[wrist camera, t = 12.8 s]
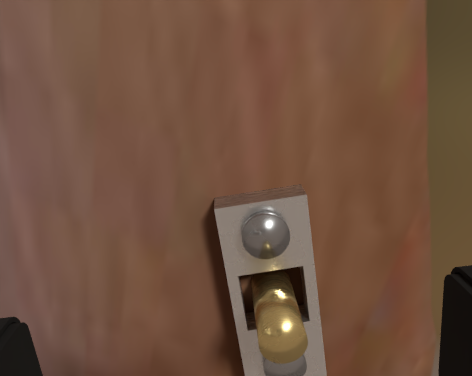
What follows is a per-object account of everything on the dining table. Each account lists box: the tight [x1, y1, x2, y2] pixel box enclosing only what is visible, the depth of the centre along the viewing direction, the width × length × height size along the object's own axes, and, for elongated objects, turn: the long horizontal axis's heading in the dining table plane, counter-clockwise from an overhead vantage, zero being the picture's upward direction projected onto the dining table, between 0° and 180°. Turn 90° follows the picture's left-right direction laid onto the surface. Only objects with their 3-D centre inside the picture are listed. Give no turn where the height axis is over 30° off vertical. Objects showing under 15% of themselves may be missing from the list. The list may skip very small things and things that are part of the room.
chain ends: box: [214, 184, 327, 376], centre depth 35 cm, size 17×7×4 cm, turn 9°
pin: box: [251, 269, 308, 364], centre depth 33 cm, size 3×3×8 cm
